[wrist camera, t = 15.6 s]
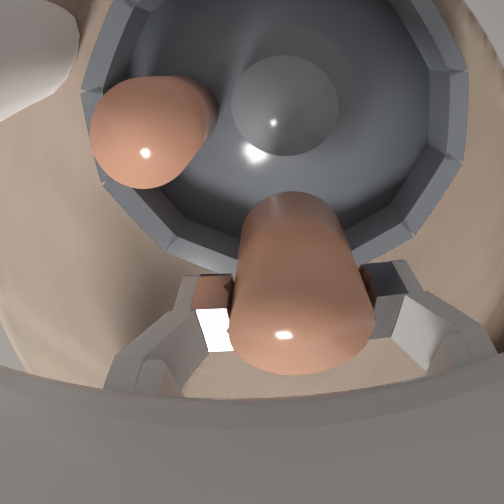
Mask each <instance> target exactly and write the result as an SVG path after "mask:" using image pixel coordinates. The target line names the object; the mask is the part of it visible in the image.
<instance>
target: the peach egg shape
mask: <svg viewBox="0 0 504 504" xmlns="http://www.w3.org/2000/svg"><path fill="white" fill-rule="evenodd" d="M217 119H218V107H217V103H216V100H215V97H214V95H213V93H212V92H211V90H210V89H209V88H208V87H207V86H206V85H205V84H204V83H203V82H201V81H199V80H198V79H195V78H193V77H190V76H185V75H169V76H151V77H138V78H132V79H128V80H126V81H123V82H121V83H119V84H117V85H115V86H114V87H112V88H111V89H110V90H109V91H108V92H107V93H105V95H104V96H103V97H102V98H101V99H100V101H99V102H98V104H97V106H96V108H95V110H94V112H93V115H92V118H91V123H90V143H91V147H92V151H93V154H94V156H95V158H96V160H97V162H98V164H99V165H100V167H101V168H102V169H103V170H104V171H105V172H106V174H107V175H109V176H110V177H111V178H112V179H114V180H115V181H117V182H119V183H121V184H123V185H125V186H128V187H132V188H137V189H150V188H155V187H159V186H162V185H164V184H166V183H168V182H170V181H171V180H173V179H174V178H176V177H177V176H178V175H179V174H180V173H181V172H182V171H183V170H184V169H185V167H186V166H187V165H188V163H189V162H190V161H191V160H192V158H193V157H194V156H195V155H196V153H197V152H198V151H199V149H200V148H201V147H202V146H203V144H204V143H205V142H206V141H207V140H208V138H209V137H210V136H211V134H212V133H213V131H214V129H215V126H216V123H217Z"/></svg>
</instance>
